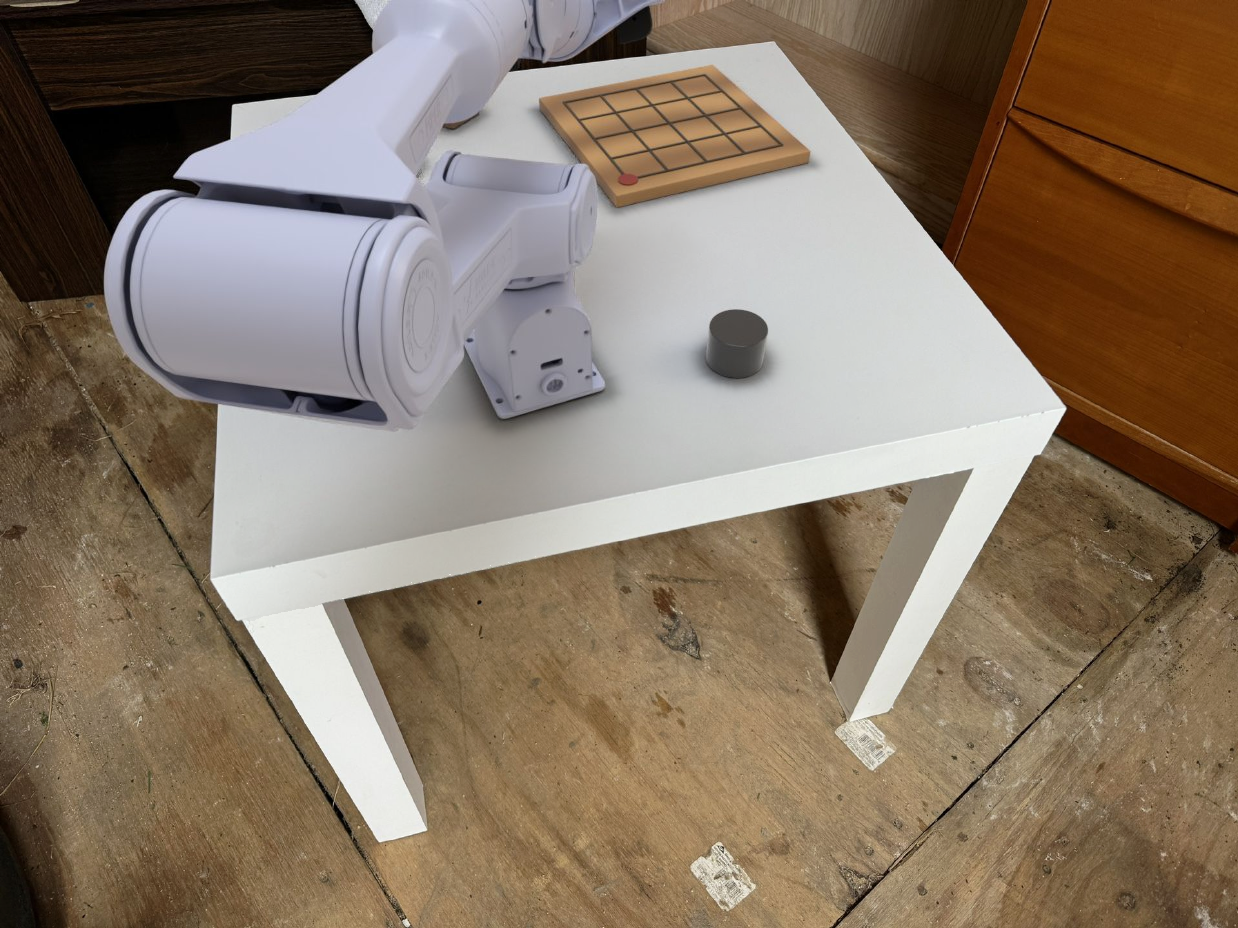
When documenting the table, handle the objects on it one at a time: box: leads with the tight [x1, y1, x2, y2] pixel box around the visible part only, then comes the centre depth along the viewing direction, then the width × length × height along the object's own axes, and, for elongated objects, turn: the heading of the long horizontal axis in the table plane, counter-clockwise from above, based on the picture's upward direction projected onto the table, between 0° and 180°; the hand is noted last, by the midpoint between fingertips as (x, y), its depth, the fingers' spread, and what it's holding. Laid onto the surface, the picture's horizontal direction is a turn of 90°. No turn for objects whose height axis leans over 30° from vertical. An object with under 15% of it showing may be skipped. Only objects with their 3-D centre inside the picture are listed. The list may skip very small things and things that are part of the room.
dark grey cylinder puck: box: [705, 308, 769, 379], centre depth 64 cm, size 4×4×3 cm
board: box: [538, 64, 811, 208], centre depth 87 cm, size 20×20×1 cm
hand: (579, 17), depth 66 cm, fingers open, 7 cm apart
